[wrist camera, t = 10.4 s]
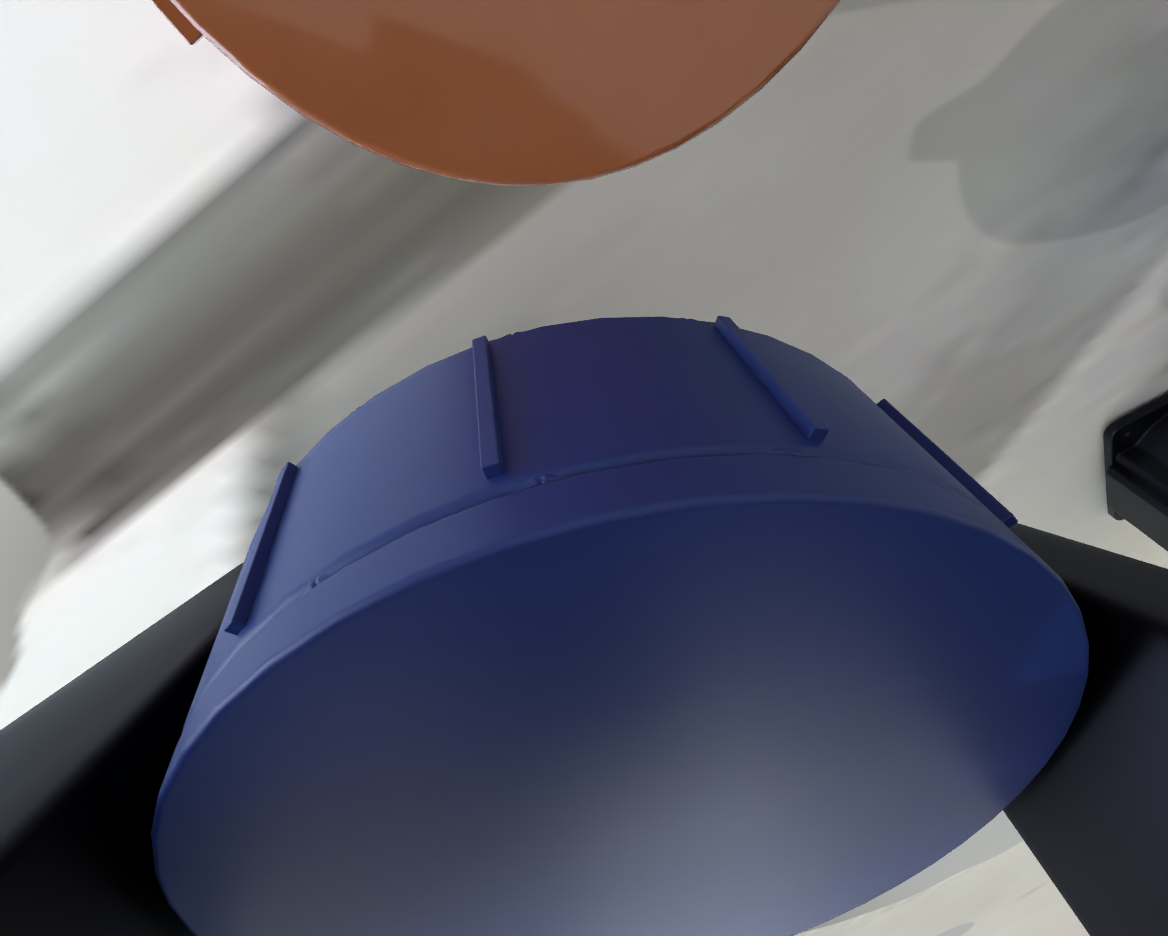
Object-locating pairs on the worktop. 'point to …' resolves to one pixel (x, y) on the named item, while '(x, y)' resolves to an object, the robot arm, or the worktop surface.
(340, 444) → the jar lid
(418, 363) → the worktop surface
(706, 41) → the jar
